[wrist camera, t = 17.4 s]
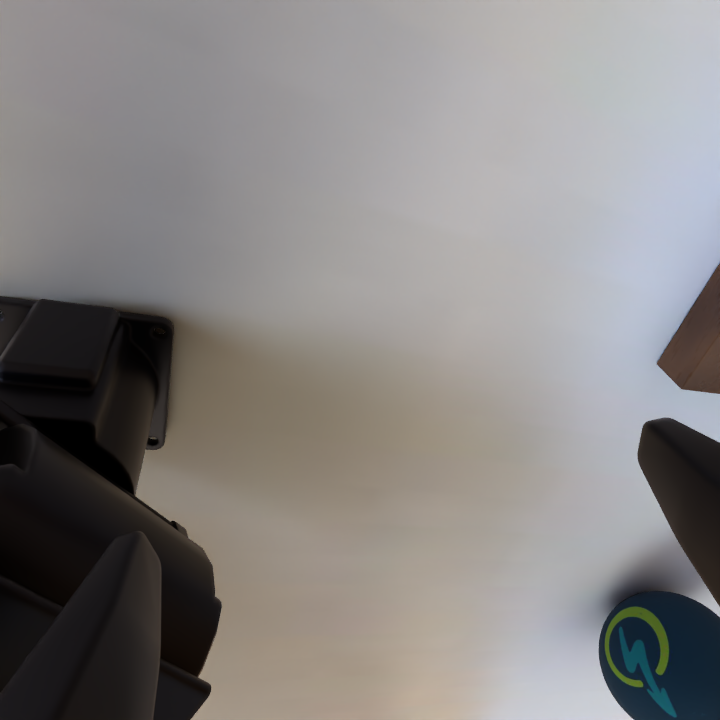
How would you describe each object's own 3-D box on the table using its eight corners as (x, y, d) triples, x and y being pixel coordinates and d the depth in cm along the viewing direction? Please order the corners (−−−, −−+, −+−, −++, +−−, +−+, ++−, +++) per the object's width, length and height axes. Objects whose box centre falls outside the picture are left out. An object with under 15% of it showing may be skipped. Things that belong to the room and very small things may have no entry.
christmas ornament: (680, 547, 37) (801, 714, 29) (703, 602, 41) (813, 760, 33) (560, 601, 38) (642, 774, 30) (595, 649, 43) (674, 810, 35)
